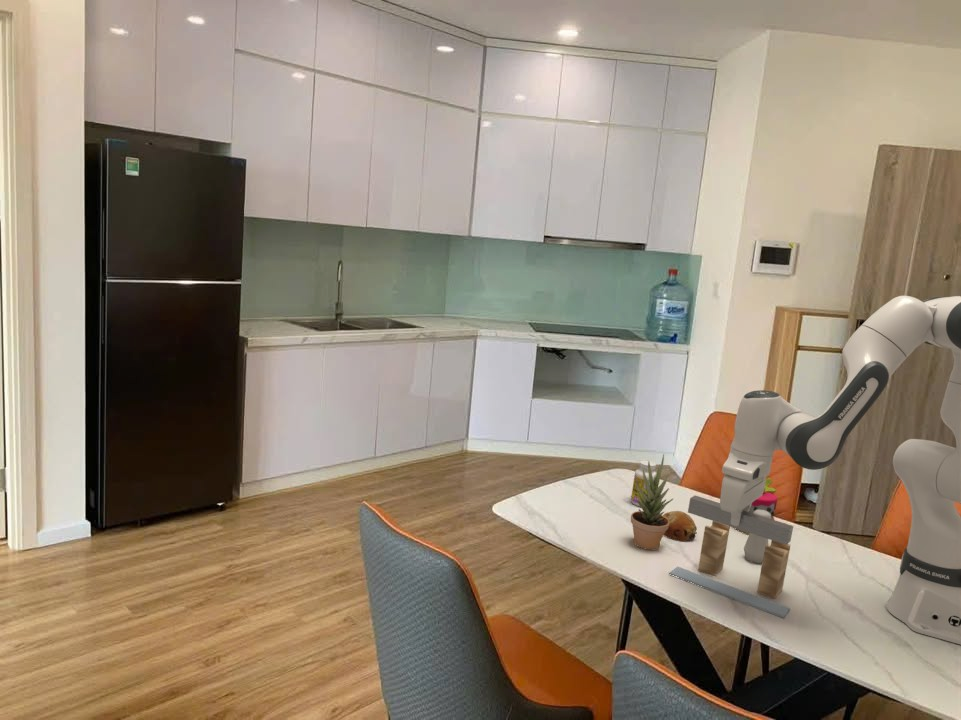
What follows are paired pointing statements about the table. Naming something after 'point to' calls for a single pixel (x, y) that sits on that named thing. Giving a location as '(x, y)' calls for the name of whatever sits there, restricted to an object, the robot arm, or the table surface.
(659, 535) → the potted plant
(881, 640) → the table surface
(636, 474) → the supplement bottle
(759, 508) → the cake
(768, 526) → the bar
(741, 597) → the grey flat bar
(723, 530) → the stand far
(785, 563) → the stand near
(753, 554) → the salt shaker
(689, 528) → the bread roll
